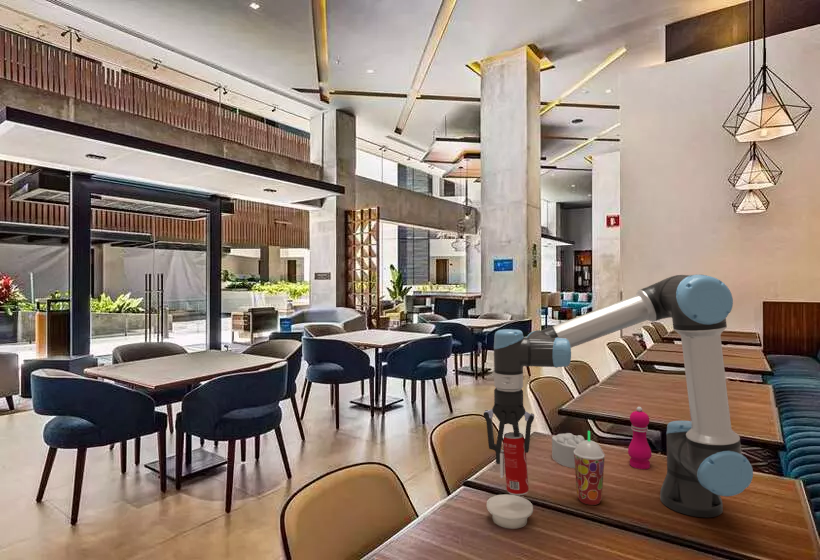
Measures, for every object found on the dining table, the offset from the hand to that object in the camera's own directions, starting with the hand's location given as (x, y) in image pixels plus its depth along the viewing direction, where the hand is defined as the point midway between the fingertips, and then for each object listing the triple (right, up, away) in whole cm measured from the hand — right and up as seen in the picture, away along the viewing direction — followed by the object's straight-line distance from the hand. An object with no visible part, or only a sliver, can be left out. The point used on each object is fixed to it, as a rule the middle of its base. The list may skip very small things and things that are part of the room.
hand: (509, 476), depth 128 cm
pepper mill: (+51, -11, +35) cm, 63 cm away
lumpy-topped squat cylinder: (+30, -11, +39) cm, 51 cm away
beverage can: (+2, -4, -1) cm, 4 cm away
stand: (0, -12, 0) cm, 12 cm away
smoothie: (+25, -11, +10) cm, 29 cm away
